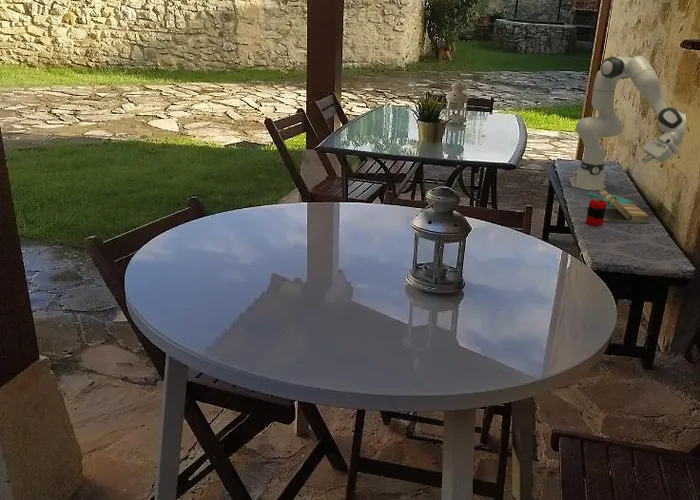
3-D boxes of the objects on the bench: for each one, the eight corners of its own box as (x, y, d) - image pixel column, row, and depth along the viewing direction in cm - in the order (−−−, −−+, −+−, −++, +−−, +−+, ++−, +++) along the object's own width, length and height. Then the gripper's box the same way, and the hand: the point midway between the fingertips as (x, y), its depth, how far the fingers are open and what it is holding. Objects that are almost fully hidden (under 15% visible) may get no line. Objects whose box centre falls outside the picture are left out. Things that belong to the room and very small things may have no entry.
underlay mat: (586, 208, 341) (586, 206, 340) (633, 210, 341) (633, 208, 341) (599, 222, 322) (600, 220, 322) (649, 223, 322) (650, 222, 322)
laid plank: (617, 208, 339) (618, 203, 339) (633, 209, 340) (634, 204, 339) (631, 220, 323) (632, 215, 322) (648, 221, 323) (649, 216, 322)
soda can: (591, 226, 316) (596, 202, 311) (582, 221, 322) (586, 197, 318) (605, 226, 318) (610, 201, 313) (596, 220, 324) (600, 196, 320)
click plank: (598, 191, 336) (602, 188, 335) (614, 207, 339) (618, 204, 339) (611, 203, 319) (615, 199, 319) (628, 219, 323) (632, 216, 322)
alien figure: (592, 207, 344) (633, 211, 340) (592, 203, 343) (634, 207, 340) (587, 196, 362) (626, 200, 359) (588, 192, 361) (627, 196, 358)
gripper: (654, 133, 336) (631, 151, 339) (672, 142, 317) (647, 162, 320) (661, 142, 337) (638, 160, 341) (680, 152, 318) (655, 171, 322)
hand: (643, 161), depth 330 cm, fingers closed
